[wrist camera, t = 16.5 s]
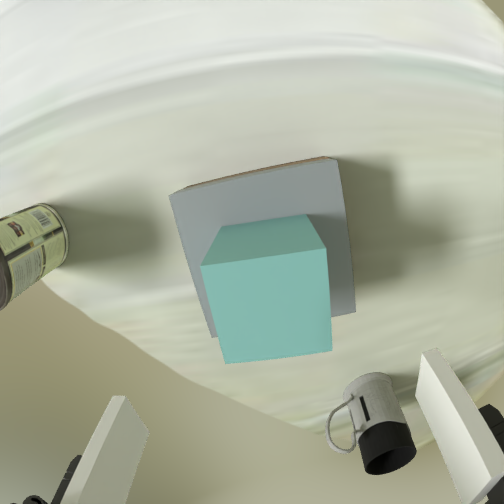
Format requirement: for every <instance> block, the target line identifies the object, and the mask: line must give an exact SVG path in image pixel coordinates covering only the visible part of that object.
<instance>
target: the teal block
mask: <svg viewBox="0 0 504 504" xmlns="http://www.w3.org/2000/svg"><path fill="white" fill-rule="evenodd" d="M200 269H201V273H202V277H203V281H204V285H205V289H206V293H207V297H208V301H209V305H210V309H211V313H212V316H213V320H214V324H215V328H216V331H217V335H218V339H219V342H220V346H221V350H222V353H223V357H224V360H225V364H229V363H241V362H251V361H261V360H270V359H278V358H286V357H294V356H301V355H308V354H315V353H321V352H327V351H332V328H331V308H330V292H329V278H328V265H327V253H326V247H325V246H324V244H323V242H322V240H321V239H320V237H319V235H318V234H317V232H316V230H315V228H314V227H313V225H312V223H311V222H310V220H309V218H308V217H307V215H306V214H303V215H296V216H289V217H282V218H275V219H268V220H261V221H255V222H248V223H242V224H235V225H229V226H223V227H221V228H220V230H219V232H218V233H217V235H216V237H215V239H214V241H213V243H212V245H211V246H210V248H209V250H208V252H207V254H206V256H205V258H204V260H203V261H202V263H201V265H200Z"/></svg>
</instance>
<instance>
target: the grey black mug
mask: <svg viewBox="0 0 504 504" xmlns="http://www.w3.org/2000/svg"><path fill="white" fill-rule="evenodd" d="M343 400H344V402H345V403H343V404H342V405H340V406H339V407H337V408H336V409H334V410H333V411H332V412H331V413H330V415H329V417H328V420H327V422H326V428H325V433H326V439H327V442H328V444H329V446H330V447H331V448H332V449H333V450H335V451H336V452H339V453H343V454H346V453H350V452H351V451H353V450H354V448H355V447H356V443H357V444H358V446H359V447H360V451H361V455H362V459H363V463H364V468H365V471H366V472H367V473H368V474H372V475H381V474H386V473H390V472H392V471H395V470H397V469H399V468H401V467H403V466H405V465H406V464H408V463H409V462H410V461H411V460H412V459H413V458H414V457H415V455H416V448H415V445H414V442H413V440H412V437H411V432H410V429H409V427H408V424H407V422H406V419H405V417H404V414H403V412H402V410H401V407H400V405H399V403H398V400H397V398H396V396H395V393H394V391H393V389H392V380H391V378H390V377H389V376H388V375H386V374H384V373H378V372H377V373H369V374H365V375H363V376H360V377H359V378H357V379H355V380H354V381H352V382H351V383H350V384H349V385H348V386H347V388H346V389H345V391H344V394H343ZM346 405H347V406H348V408H349V412H350V416H351V420H352V424H353V428H354V431H353V433H352V435H351V438H352V447H351V449H348V450H345V449H341V448H339V447H337V446H336V445H334V443H333V442H332V440H331V437H330V430H329V426H330V421H331V418H332V416H333V414H334V413H335V412H336V411H338V410H339V409H341V408H342V407H344V406H346ZM356 440H357V442H356Z"/></svg>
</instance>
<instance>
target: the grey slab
mask: <svg viewBox="0 0 504 504" xmlns="http://www.w3.org/2000/svg"><path fill="white" fill-rule="evenodd" d="M169 199H170V202H171V206H172V210H173V213H174V217H175V221H176V224H177V228H178V231H179V235H180V238H181V242H182V245H183V249H184V252H185V255H186V259H187V262H188V265H189V269H190V272H191V275H192V278H193V282H194V285H195V288H196V291H197V294H198V297H199V301H200V304H201V307H202V310H203V313H204V316H205V319H206V322H207V325H208V328H209V331H210V334H211V336H212V338H213V337H218V335H217V331H216V328H215V324H214V320H213V316H212V313H211V309H210V305H209V301H208V297H207V293H206V289H205V285H204V281H203V277H202V273H201V269H200V265H201V263H202V261H203V260H204V258H205V256H206V254H207V252H208V250H209V248H210V246H211V245H212V243H213V241H214V239H215V237H216V235H217V233H218V232H219V230H220V228H221V227H223V226H229V225H235V224H242V223H248V222H255V221H261V220H268V219H275V218H282V217H289V216H296V215H303V214H306V215H307V217H308V218H309V220H310V222H311V223H312V225H313V227H314V228H315V230H316V232H317V234H318V235H319V237H320V239H321V240H322V242H323V244H324V246H325V247H326V253H327V265H328V278H329V292H330V308H331V317H335V316H340V315H345V314H349V313H354V312H356V304H355V291H354V280H353V269H352V259H351V250H350V242H349V234H348V226H347V219H346V211H345V205H344V198H343V192H342V185H341V179H340V174H339V168H338V162H337V160H335V159H329V158H328V159H322V160H316V161H310V162H304V163H299V164H293V165H288V166H283V167H278V168H273V169H268V170H263V171H258V172H253V173H249V174H244V175H239V176H235V177H231V178H226V179H222V180H218V181H213V182H209V183H205V184H201V185H197V186H193V187H189V188H185V189H181V190H179V191H177V192H175V193H173V194H171V195H169Z"/></svg>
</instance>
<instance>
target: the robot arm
mask: <svg viewBox="0 0 504 504" xmlns="http://www.w3.org/2000/svg"><path fill="white" fill-rule="evenodd" d="M415 397H416V399H417V401H418V403H419V405H420V407H421V409H422V411H423V413H424V416H425V418H426V420H427V422H428V424H429V426H430V429H431V431H432V433H433V435H434V437H435V440H436V442H437V444H438V446H439V449H440V451H441V453H442V456H443V458H444V460H445V463H446V465H447V468H448V470H449V472H450V475H451V477H452V480H453V482H454V485H455V488H456V490H457V493H458V495H459V498H460V501H461V503H462V504H476V503H478V502H480V501H481V500H482V499H483V498H484V497H485V496H486V495H487V497H488V499H489V500H488V501H487V502H486V503H485V504H504V418H503V416H502V415H501V413H500V412H499V411H498V410H497V409H496V408H494V407H493V406H492V405H490V404H488V405H486V406H484V407H482V408H480V409H477V407H476V405H475V404H474V402H473V400H472V399H471V397H470V396H469V394H468V393H467V391H466V390H465V388H464V386H463V385H462V383H461V382H460V380H459V379H458V377H457V376H456V374H455V373H454V371H453V370H452V368H451V367H450V365H449V364H448V363H447V361H446V360H445V358H444V357H443V355H442V354H441V352H440V351H439V350H438V348H436V349H433V350H430V351H426V352H423V353H422V357H421V364H420V371H419V377H418V383H417V389H416V394H415ZM148 435H149V430H148V429H147V428H146V426H145V425H144V423H143V422H142V420H141V419H140V417H139V416H138V414H137V413H136V411H135V410H134V408H133V407H132V405H131V403H130V402H129V400H128V399H127V397H126V396H113V397H112V398H111V400H110V402H109V404H108V406H107V408H106V410H105V412H104V414H103V416H102V418H101V420H100V422H99V424H98V425H97V427H96V429H95V431H94V434H93V436H92V437H91V440H90V442H89V443H88V446H87V448H86V450H85V452H84V454H83V456H81V455H77V457H75V458H74V459H73V460H72V461H71V463H70V465H69V467H68V469H67V473H65V475H64V477H63V478H64V479H63V480H62V481H61V483H60V486H59V488H58V490H57V492H56V494H55V496H54V498H53V500H52V502H51V504H125V502H126V500H127V496H128V493H129V490H130V487H131V484H132V481H133V478H134V475H135V473H136V470H137V467H138V464H139V461H140V458H141V455H142V452H143V449H144V446H145V443H146V441H147V438H148ZM12 504H16V503H12ZM23 504H48V503H47V502H45V501H44V500H43V499H42V498H40V497H39V496H36V495H32V496H29V497H27V498H26V499H25V500H24V502H23Z"/></svg>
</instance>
